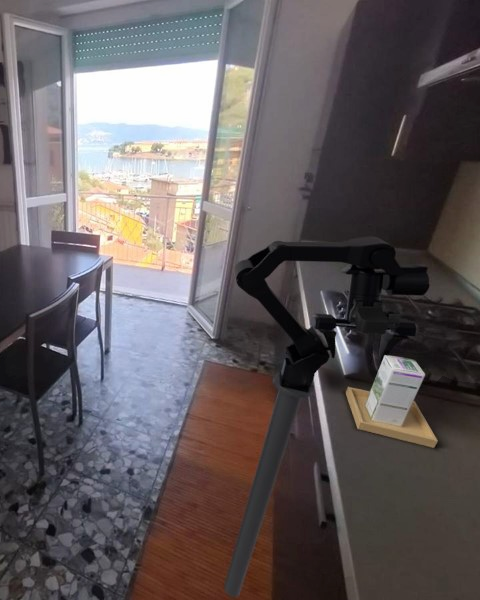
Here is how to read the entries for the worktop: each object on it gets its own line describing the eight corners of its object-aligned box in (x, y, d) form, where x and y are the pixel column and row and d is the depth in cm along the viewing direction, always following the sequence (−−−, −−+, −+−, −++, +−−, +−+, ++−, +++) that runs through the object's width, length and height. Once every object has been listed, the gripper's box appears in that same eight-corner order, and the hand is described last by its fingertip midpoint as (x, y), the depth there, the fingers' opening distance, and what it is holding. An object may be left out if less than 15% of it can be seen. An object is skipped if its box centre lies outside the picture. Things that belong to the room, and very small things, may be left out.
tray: (357, 429, 79) (360, 422, 78) (345, 393, 90) (347, 386, 89) (434, 448, 74) (438, 441, 73) (411, 407, 85) (414, 400, 84)
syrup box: (402, 428, 78) (428, 374, 72) (369, 420, 80) (392, 368, 74) (393, 411, 83) (417, 359, 77) (362, 404, 85) (383, 353, 79)
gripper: (324, 297, 76) (317, 366, 79) (437, 302, 69) (425, 377, 72) (313, 290, 87) (307, 351, 89) (410, 293, 80) (400, 360, 82)
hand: (356, 359), depth 83 cm, fingers open, 9 cm apart
